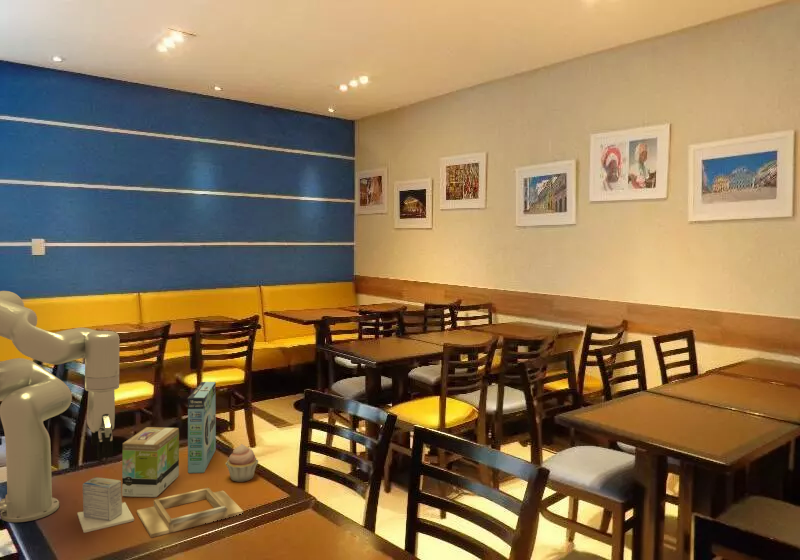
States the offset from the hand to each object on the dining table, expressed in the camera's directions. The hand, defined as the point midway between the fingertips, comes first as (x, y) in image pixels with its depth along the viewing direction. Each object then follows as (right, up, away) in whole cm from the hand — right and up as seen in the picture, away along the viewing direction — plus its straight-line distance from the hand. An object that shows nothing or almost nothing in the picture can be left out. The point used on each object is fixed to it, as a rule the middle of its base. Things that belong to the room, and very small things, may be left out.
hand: (101, 450), depth 148 cm
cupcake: (+27, -16, +27) cm, 42 cm away
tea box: (+4, -16, +20) cm, 26 cm away
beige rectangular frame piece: (+20, -17, +4) cm, 27 cm away
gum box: (+12, -15, +39) cm, 44 cm away
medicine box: (0, -17, +1) cm, 17 cm away
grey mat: (0, -17, +1) cm, 17 cm away
